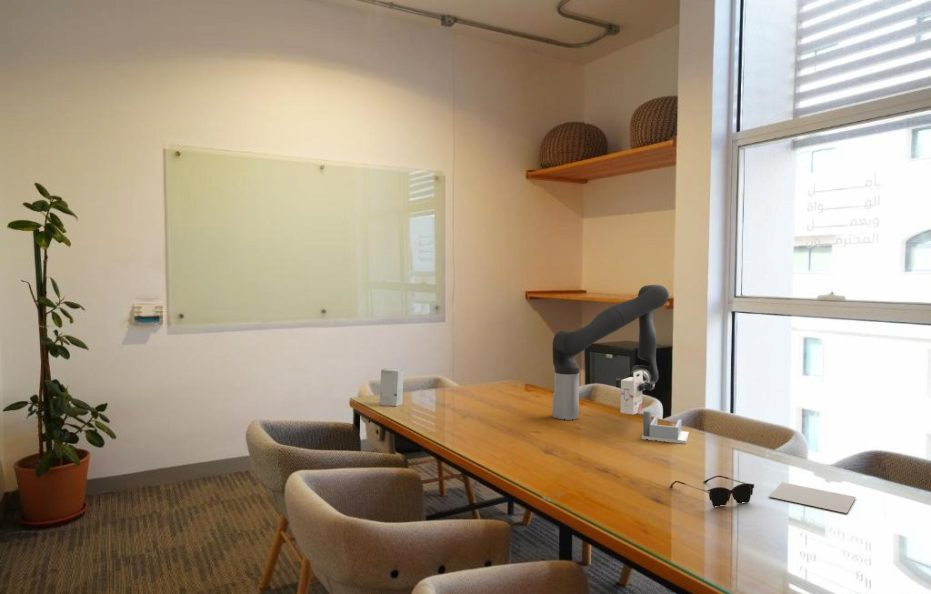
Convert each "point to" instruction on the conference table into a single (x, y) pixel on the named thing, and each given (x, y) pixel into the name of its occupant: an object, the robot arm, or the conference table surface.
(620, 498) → the conference table surface
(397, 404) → the skincare box
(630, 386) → the ink cartridge box
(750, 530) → the conference table surface
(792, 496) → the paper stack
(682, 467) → the conference table surface
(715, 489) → the sunglasses
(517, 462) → the conference table surface
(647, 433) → the keeper cradle
